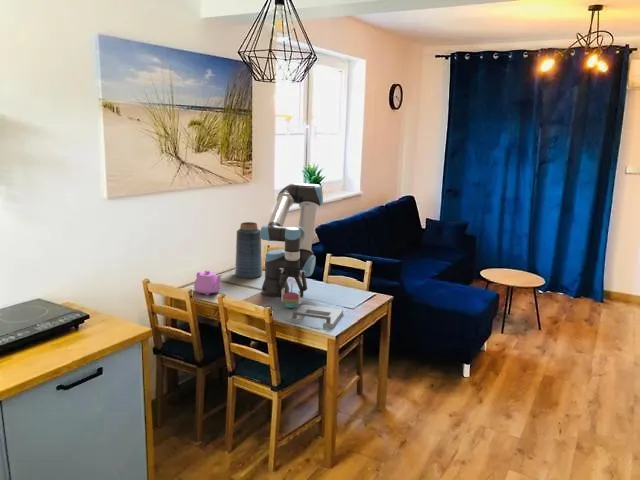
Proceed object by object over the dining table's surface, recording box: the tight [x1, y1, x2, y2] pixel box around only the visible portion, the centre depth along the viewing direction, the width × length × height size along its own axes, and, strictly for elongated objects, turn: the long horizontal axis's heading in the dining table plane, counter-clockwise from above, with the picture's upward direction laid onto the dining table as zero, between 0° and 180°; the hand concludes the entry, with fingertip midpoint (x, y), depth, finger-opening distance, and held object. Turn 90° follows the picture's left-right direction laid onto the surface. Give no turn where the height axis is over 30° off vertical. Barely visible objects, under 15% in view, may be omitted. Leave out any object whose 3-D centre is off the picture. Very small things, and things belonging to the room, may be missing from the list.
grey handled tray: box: [288, 304, 344, 329], centre depth 251 cm, size 21×20×5 cm
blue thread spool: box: [234, 221, 263, 279], centre depth 314 cm, size 16×16×32 cm
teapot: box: [193, 269, 223, 296], centre depth 281 cm, size 20×14×12 cm
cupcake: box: [283, 283, 299, 309], centre depth 262 cm, size 9×8×12 cm
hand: (291, 302), depth 263 cm, fingers closed on cupcake, 8 cm apart
